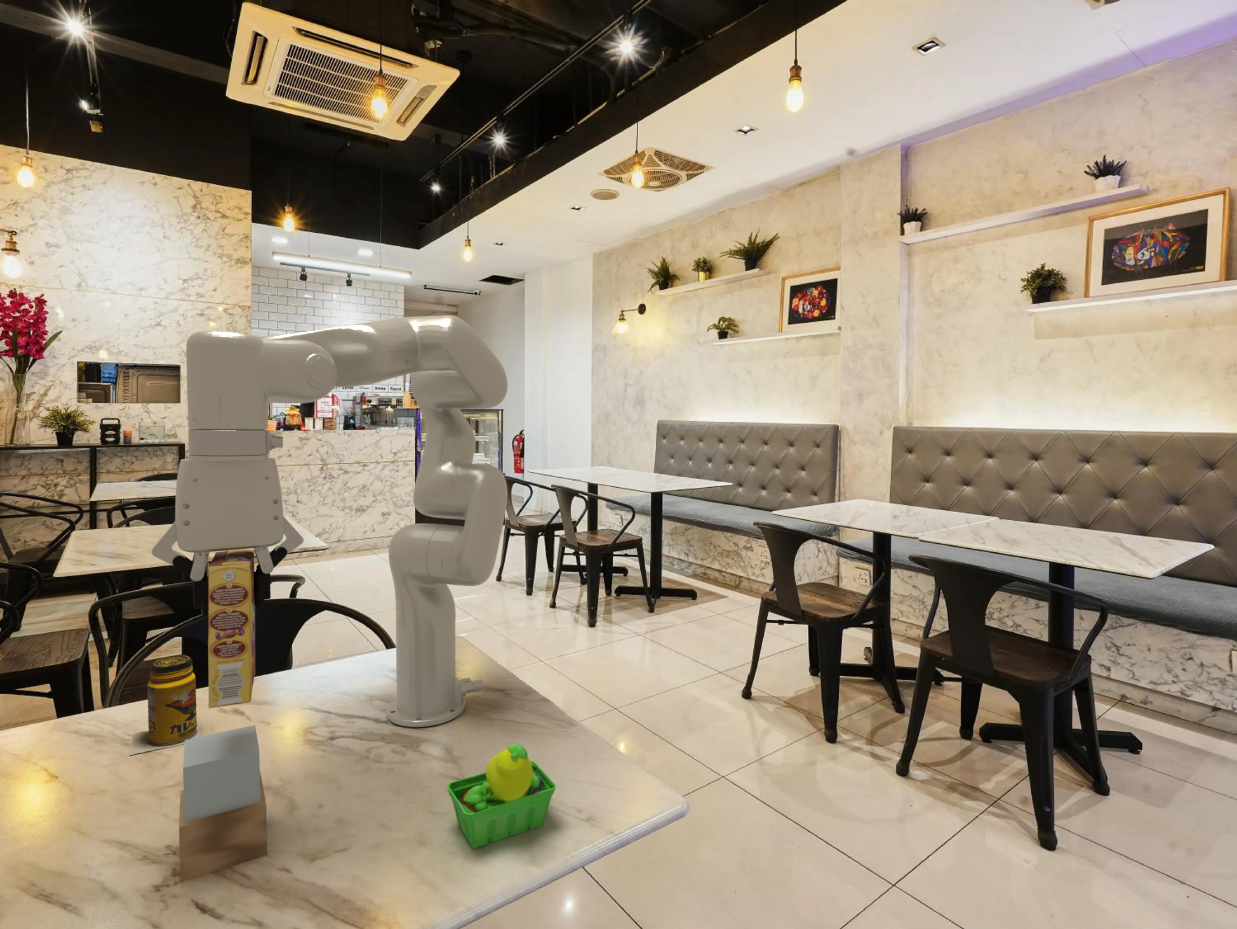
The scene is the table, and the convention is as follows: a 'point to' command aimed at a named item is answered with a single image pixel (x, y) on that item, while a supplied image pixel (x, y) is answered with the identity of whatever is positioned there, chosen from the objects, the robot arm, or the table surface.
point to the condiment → (169, 705)
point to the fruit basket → (502, 798)
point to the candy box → (231, 627)
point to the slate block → (221, 773)
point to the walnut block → (222, 838)
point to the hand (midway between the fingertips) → (233, 608)
